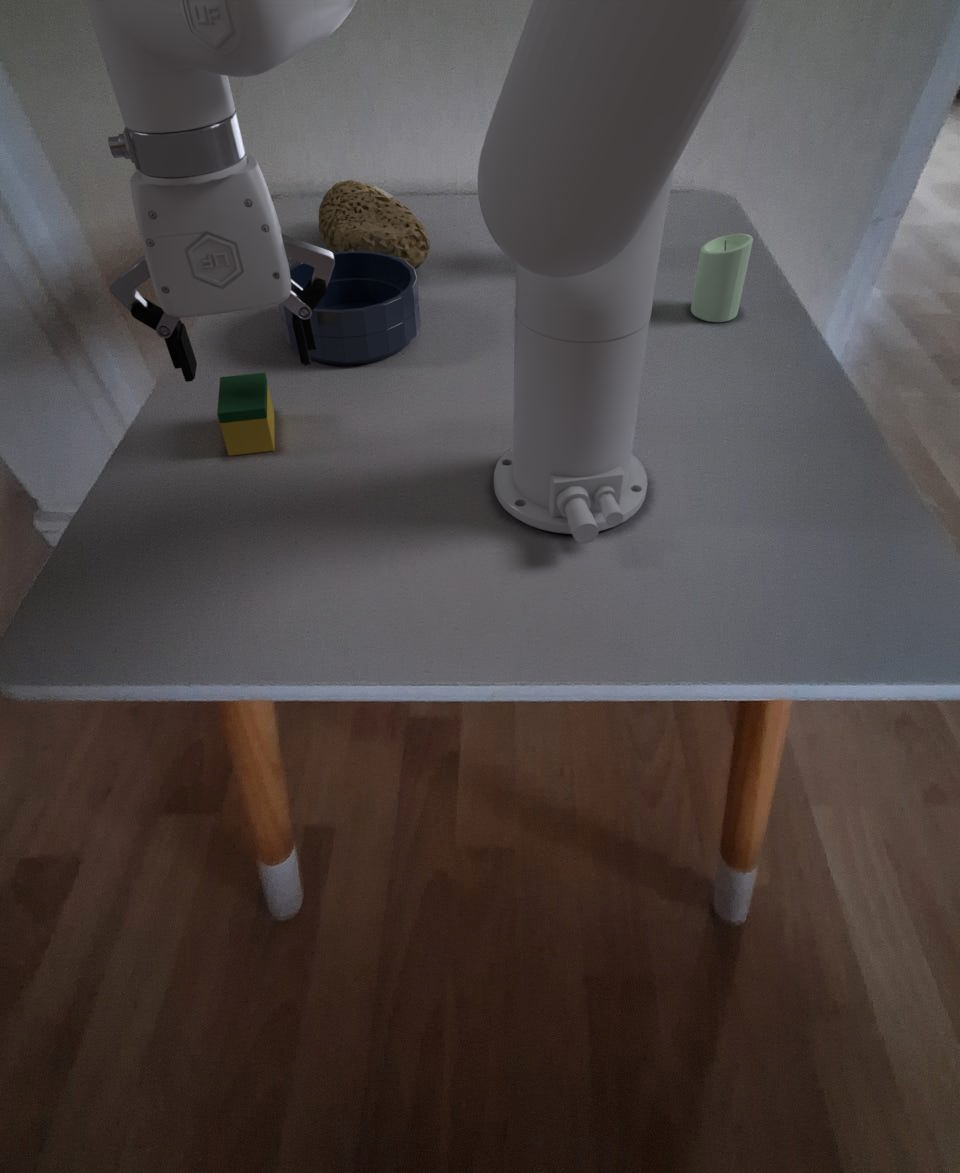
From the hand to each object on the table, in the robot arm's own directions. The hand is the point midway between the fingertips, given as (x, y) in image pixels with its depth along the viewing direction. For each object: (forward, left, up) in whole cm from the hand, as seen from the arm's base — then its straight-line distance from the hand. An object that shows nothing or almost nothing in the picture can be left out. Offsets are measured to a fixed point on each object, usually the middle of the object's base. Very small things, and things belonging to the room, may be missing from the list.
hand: (249, 365), depth 71 cm
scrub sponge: (0, +1, -7) cm, 7 cm away
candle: (+14, -48, -7) cm, 51 cm away
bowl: (+17, -9, -7) cm, 21 cm away
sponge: (+37, -13, -7) cm, 40 cm away
